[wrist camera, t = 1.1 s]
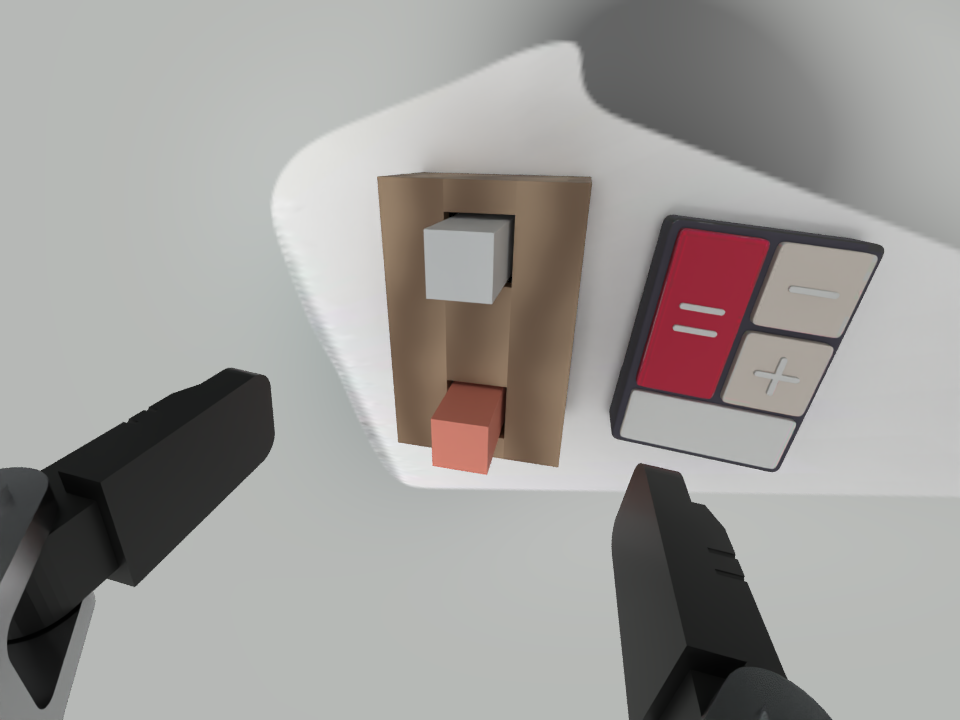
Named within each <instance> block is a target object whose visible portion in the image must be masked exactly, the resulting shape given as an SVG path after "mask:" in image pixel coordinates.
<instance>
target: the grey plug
mask: <svg viewBox="0 0 960 720" xmlns="http://www.w3.org/2000/svg"><path fill="white" fill-rule="evenodd" d="M514 231H515V215H506V214H484V213H462V212H461V213H459V214H457V215H455V216H452V217H450V218H448V219H446V220H443V221H441V222H439V223H436V224H434V225H432V226H430V227H427V228H425V229H424V254H425V280H426V299H437V300H449V301H460V302H472V303H483V304H493V302H494V300H495V299H496V297H497V296H498V294H499V293H500V291H501V290H502V288H503V287H504V285H505V284H506V282H507V280H508V279H509V277H510V276H511V274H512V271H513V251H514Z"/></svg>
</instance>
